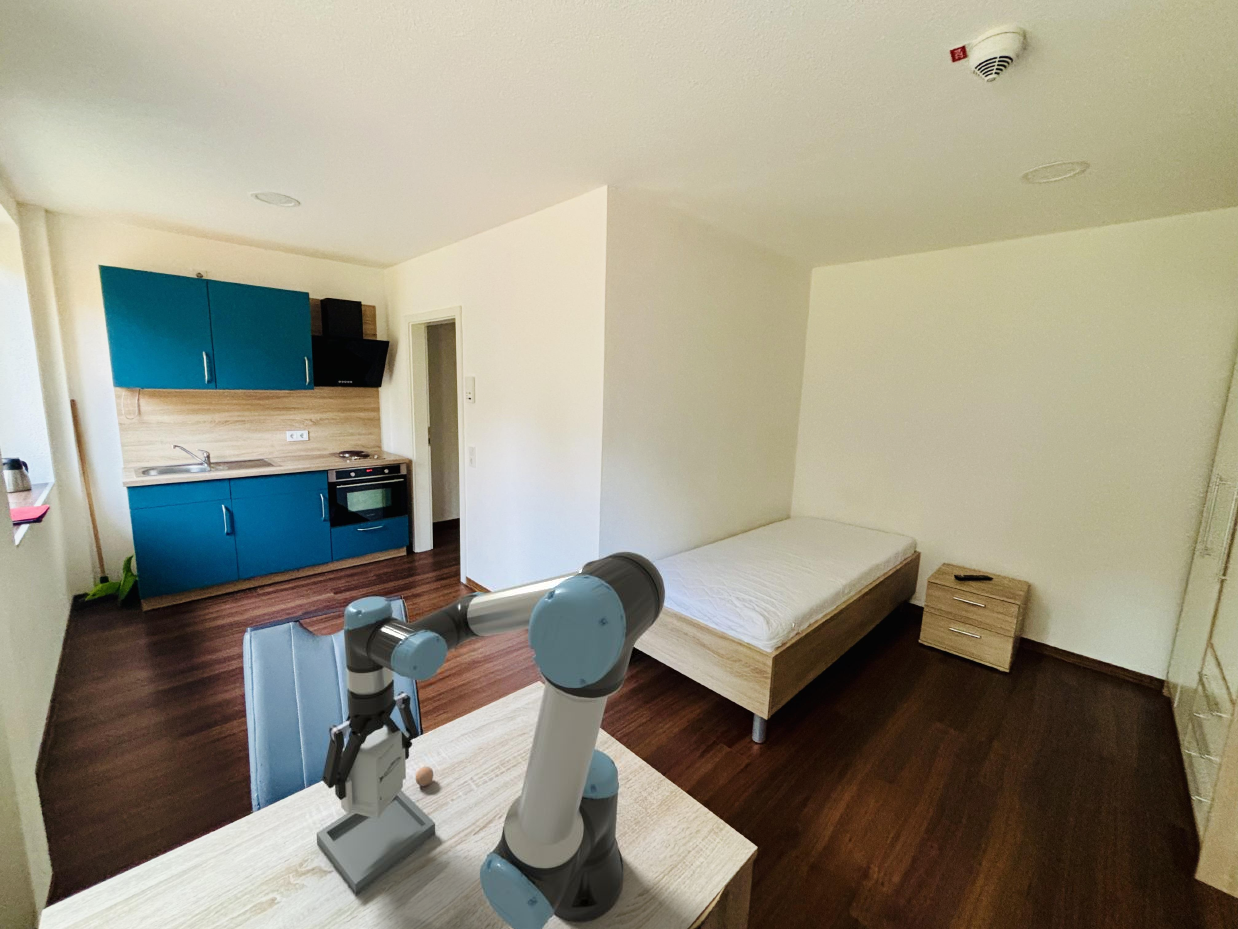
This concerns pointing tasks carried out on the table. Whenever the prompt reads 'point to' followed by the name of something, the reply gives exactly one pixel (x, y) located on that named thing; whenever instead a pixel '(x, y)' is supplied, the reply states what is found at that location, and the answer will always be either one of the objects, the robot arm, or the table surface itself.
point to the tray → (374, 841)
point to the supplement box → (377, 772)
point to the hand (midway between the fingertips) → (374, 792)
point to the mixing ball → (424, 776)
